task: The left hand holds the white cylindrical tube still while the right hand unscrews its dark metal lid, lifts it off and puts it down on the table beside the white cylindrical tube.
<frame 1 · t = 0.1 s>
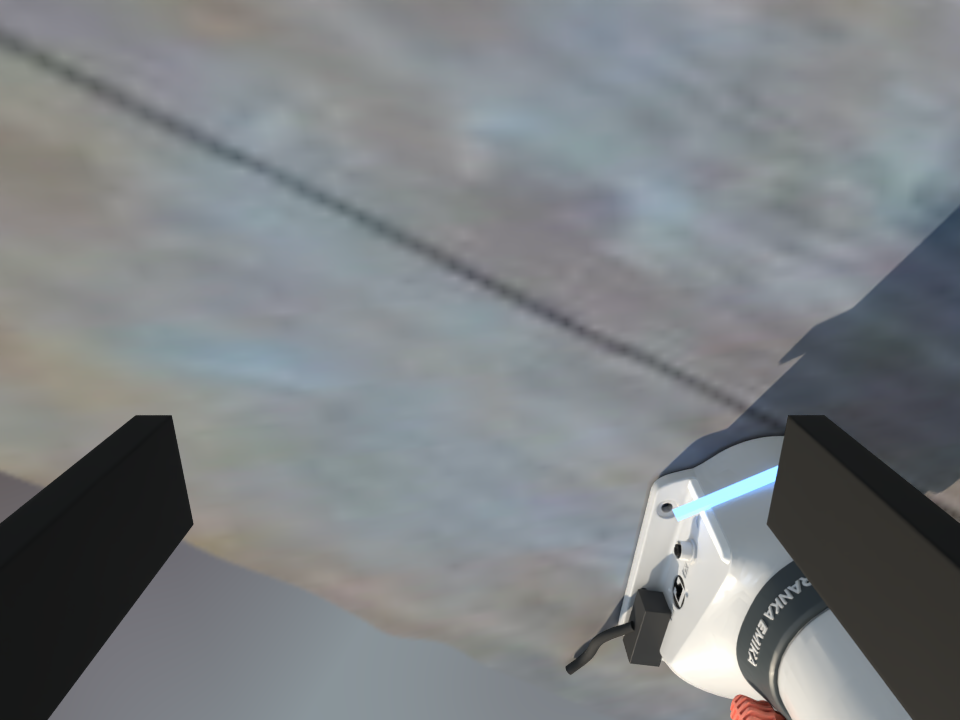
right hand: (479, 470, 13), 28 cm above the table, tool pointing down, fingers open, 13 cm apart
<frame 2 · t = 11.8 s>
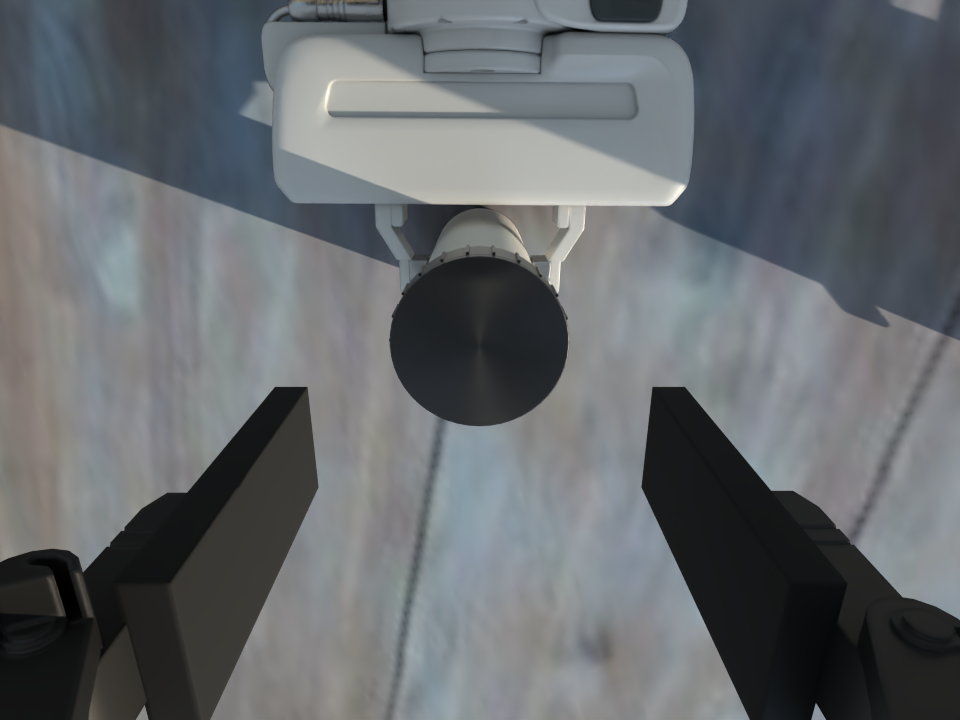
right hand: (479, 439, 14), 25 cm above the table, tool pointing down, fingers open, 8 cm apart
left hand: (480, 290, 32), fingers closed on white cylindrical tube, 5 cm apart
lid: (479, 342, 21), point 18 cm above the table, screwed on, not yet turned
white cylindrical tube: (479, 252, 38), on the table, touching left hand
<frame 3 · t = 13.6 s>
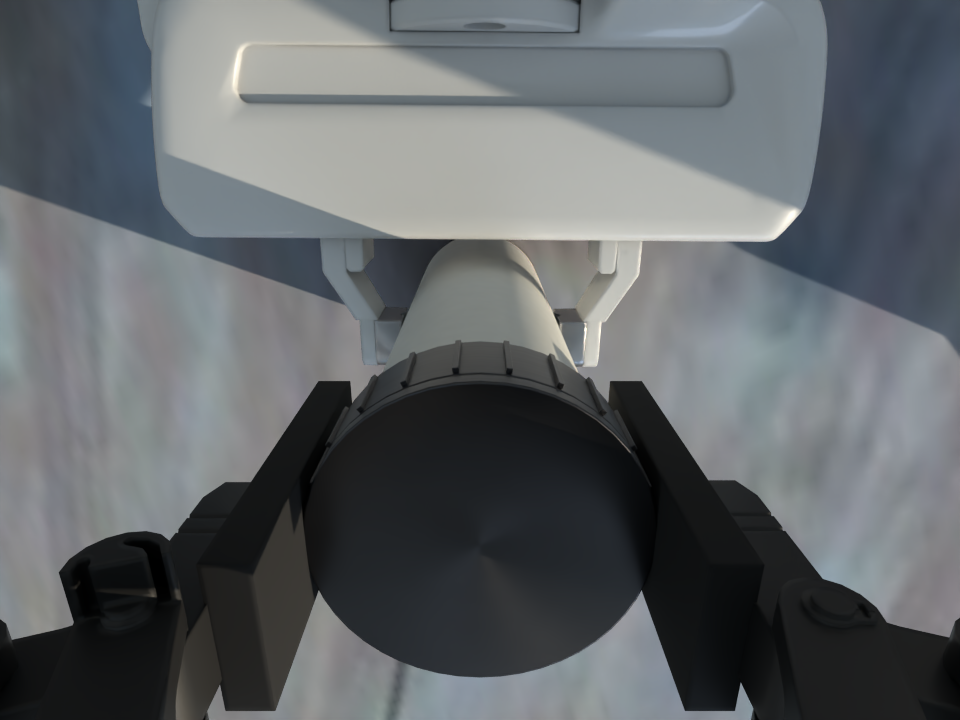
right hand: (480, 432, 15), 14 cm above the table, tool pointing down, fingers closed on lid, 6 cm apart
left hand: (481, 361, 22), fingers closed on white cylindrical tube, 5 cm apart
lid: (480, 533, 11), point 18 cm above the table, screwed on, not yet turned, touching right hand
white cylindrical tube: (480, 293, 28), on the table, touching left hand
when the right hand's fingers open (15 cm above the table, at t = 15.2 s): lid stays where it is, point 18 cm above the table.
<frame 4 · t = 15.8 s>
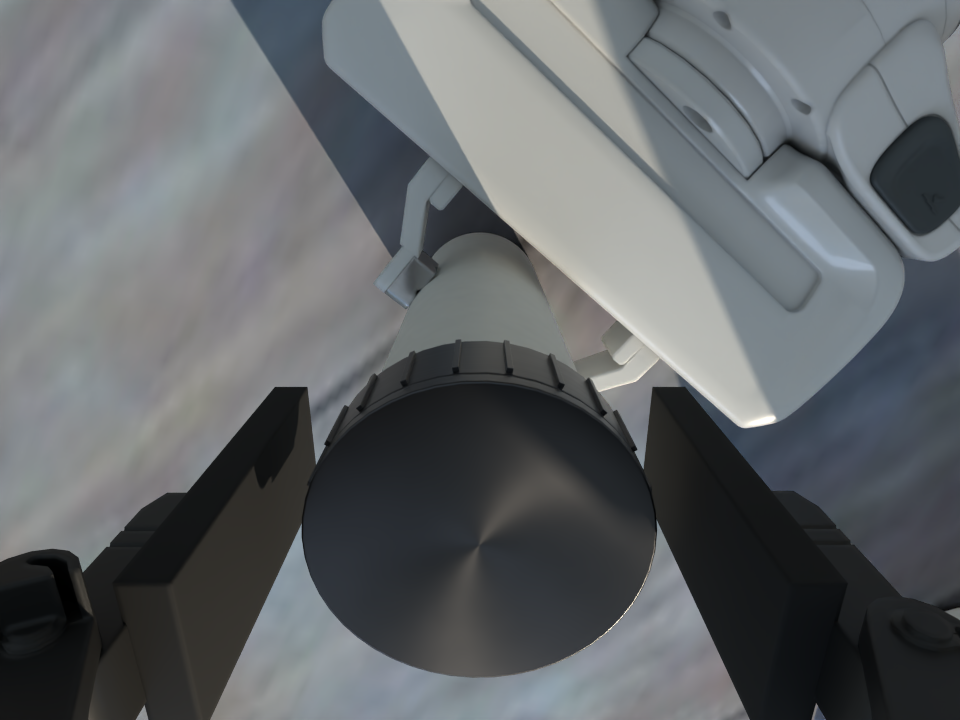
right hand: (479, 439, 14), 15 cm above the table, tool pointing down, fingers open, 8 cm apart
left hand: (465, 352, 22), fingers closed on white cylindrical tube, 5 cm apart
lid: (479, 533, 11), point 18 cm above the table, turned 105° so far, risen 0.4 cm, still on its thread
white cylindrical tube: (479, 291, 28), on the table, touching left hand
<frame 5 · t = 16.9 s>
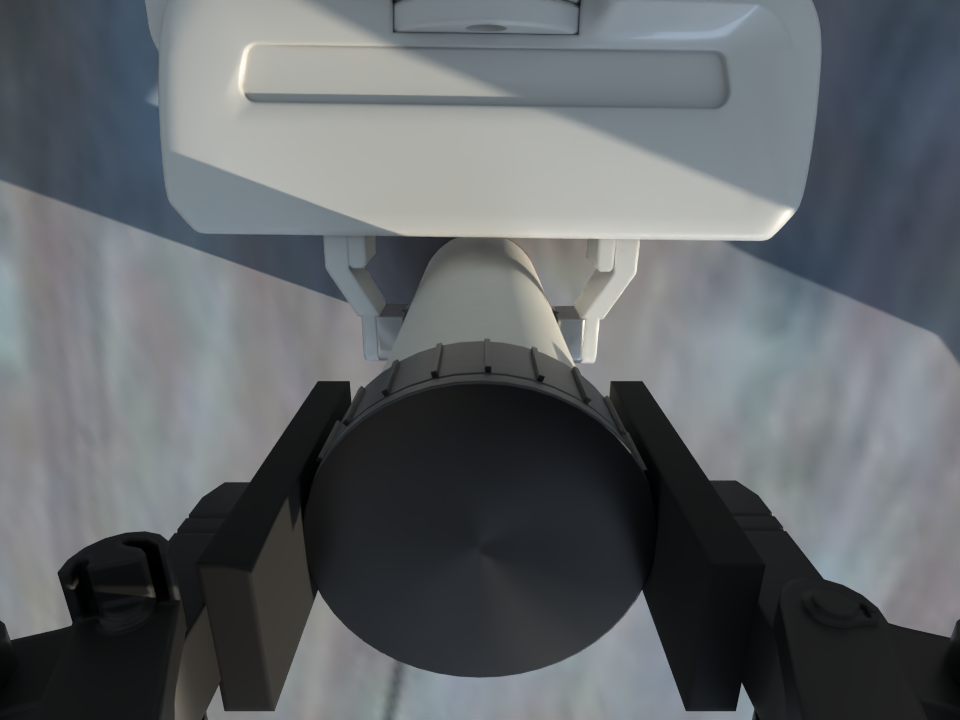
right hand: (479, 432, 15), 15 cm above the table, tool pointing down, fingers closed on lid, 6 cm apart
left hand: (481, 357, 22), fingers closed on white cylindrical tube, 5 cm apart
lid: (480, 533, 11), point 18 cm above the table, turned 105° so far, risen 0.4 cm, still on its thread, touching right hand
white cylindrical tube: (480, 291, 28), on the table, touching left hand
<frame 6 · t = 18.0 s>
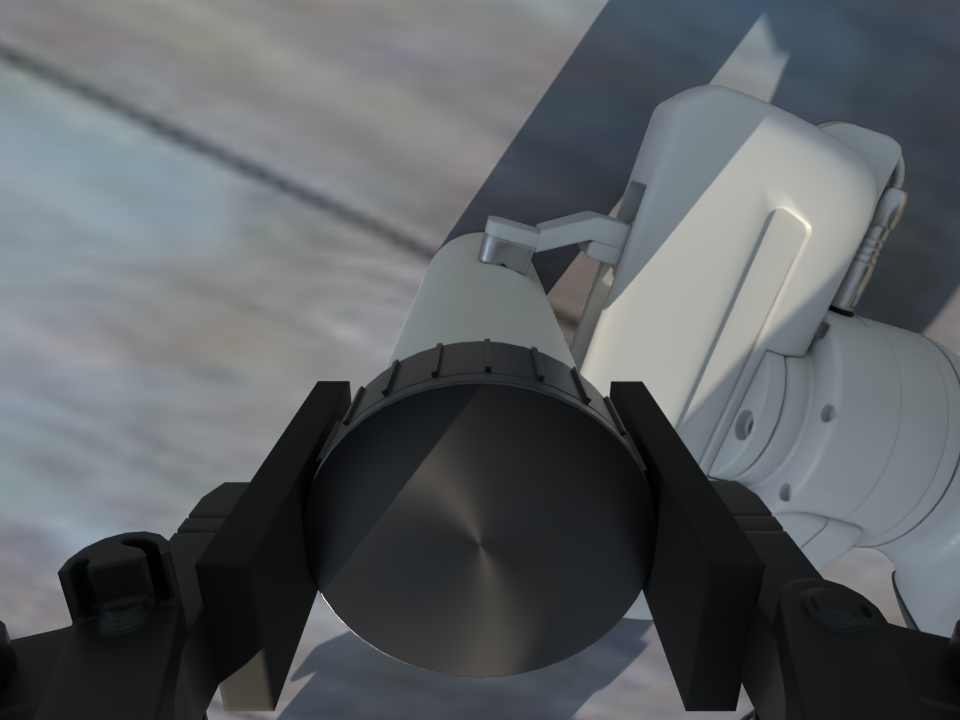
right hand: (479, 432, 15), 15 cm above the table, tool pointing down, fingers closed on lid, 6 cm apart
left hand: (457, 327, 22), fingers closed on white cylindrical tube, 5 cm apart
lid: (480, 533, 11), point 19 cm above the table, off its thread, touching right hand
white cylindrical tube: (481, 290, 29), on the table, touching left hand
when the right hand's fingers open (0 cm above the table, at t = 25.4 s): lid drops 2 cm, point 2 cm above the table.
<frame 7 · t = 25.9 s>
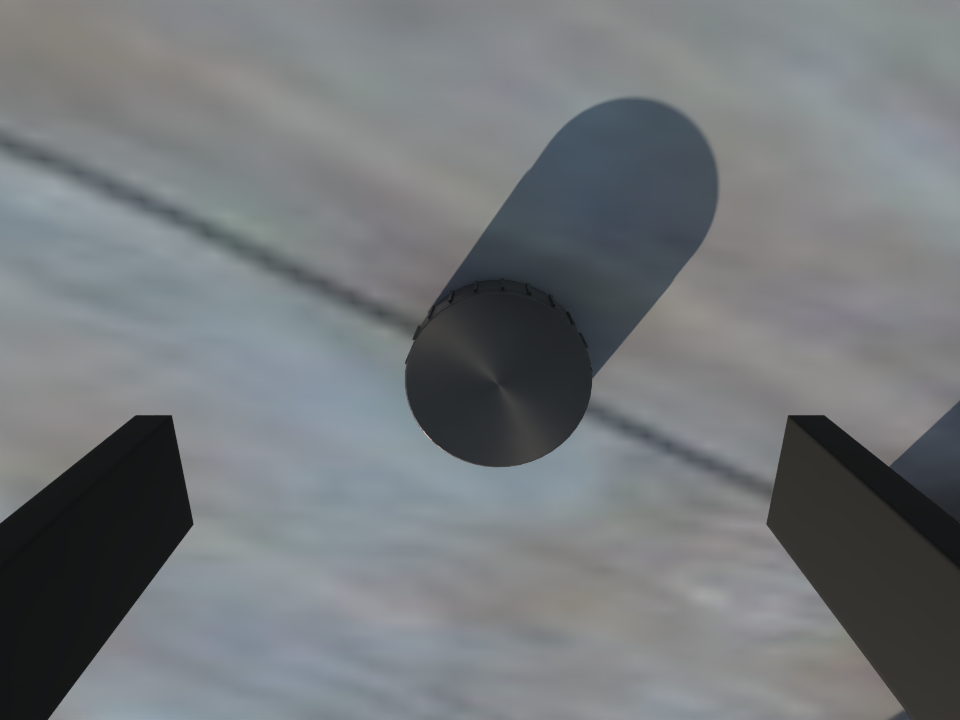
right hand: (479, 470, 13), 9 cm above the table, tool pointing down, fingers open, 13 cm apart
lid: (498, 380, 20), point 2 cm above the table, off its thread
when the left hand's fingers open (7 cm above the table, at t = 26.1 s): white cylindrical tube stays where it is, on the table.
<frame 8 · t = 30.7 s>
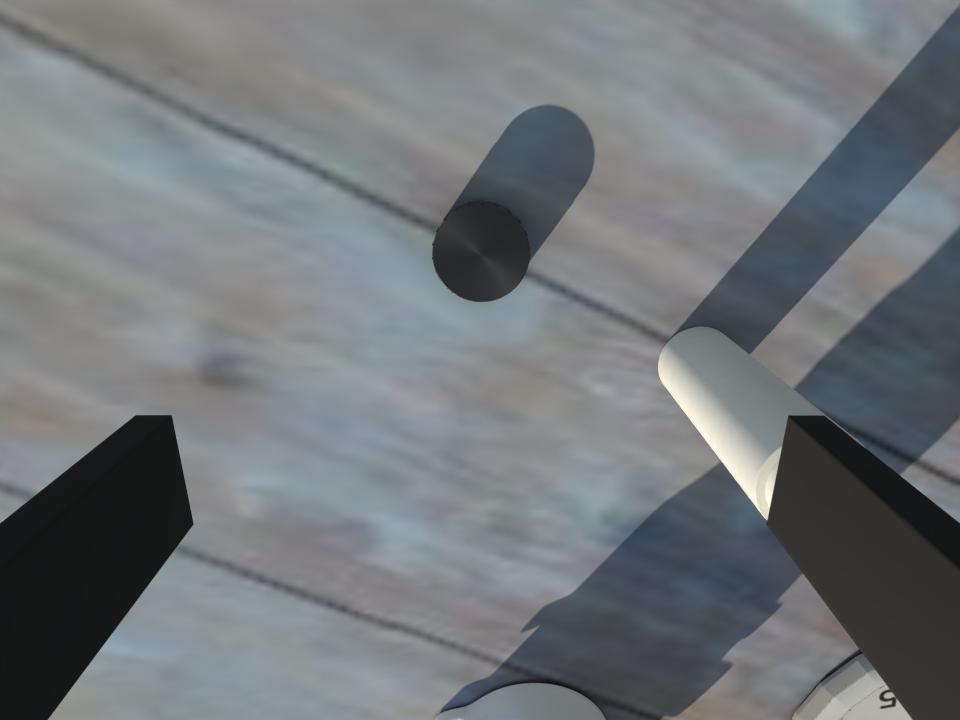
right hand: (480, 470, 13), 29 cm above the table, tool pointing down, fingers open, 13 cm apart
lid: (481, 253, 39), point 2 cm above the table, off its thread
white cylindrical tube: (696, 362, 43), on the table
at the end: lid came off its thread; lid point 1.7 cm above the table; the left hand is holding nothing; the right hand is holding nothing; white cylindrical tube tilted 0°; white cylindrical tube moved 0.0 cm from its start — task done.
